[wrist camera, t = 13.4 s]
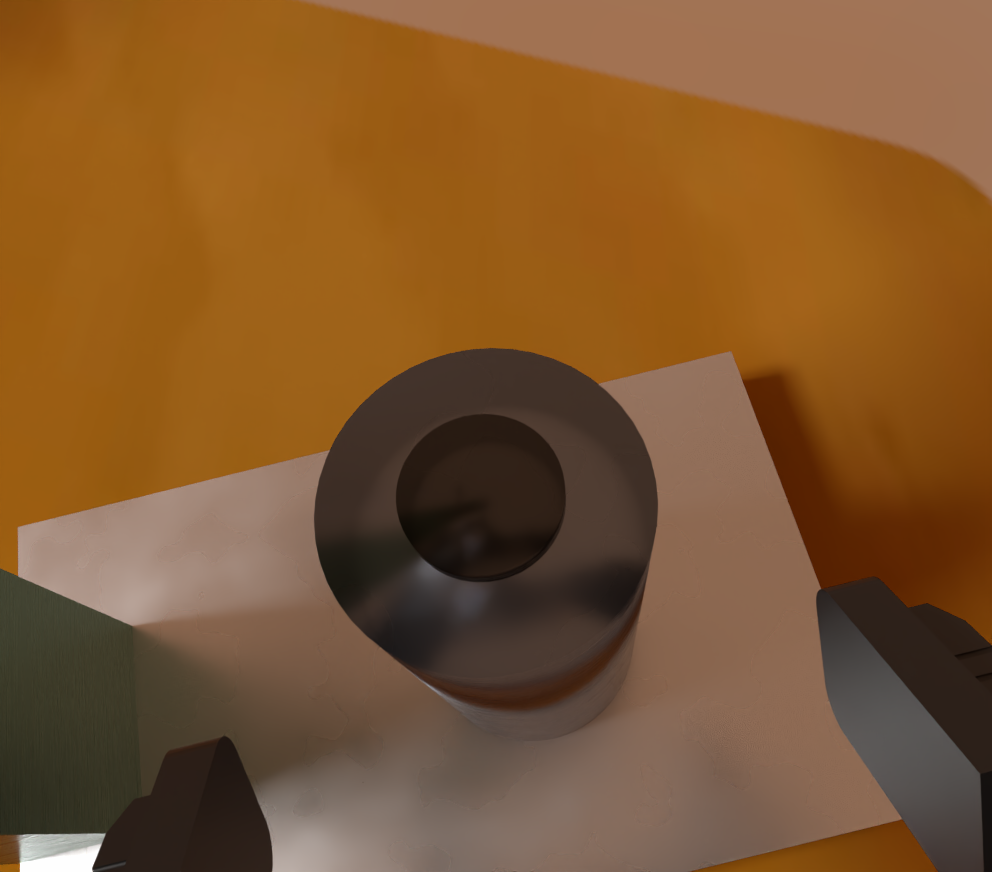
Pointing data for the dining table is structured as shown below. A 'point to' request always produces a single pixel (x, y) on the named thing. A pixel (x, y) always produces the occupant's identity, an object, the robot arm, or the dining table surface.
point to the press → (412, 704)
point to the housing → (494, 535)
